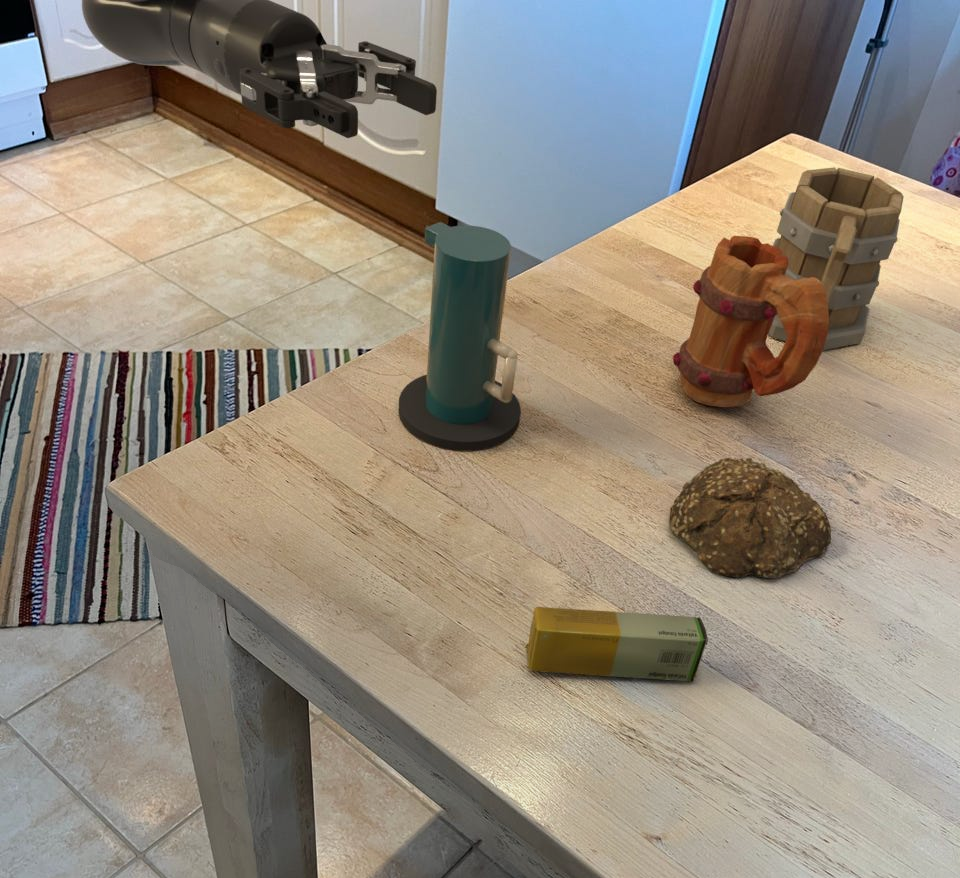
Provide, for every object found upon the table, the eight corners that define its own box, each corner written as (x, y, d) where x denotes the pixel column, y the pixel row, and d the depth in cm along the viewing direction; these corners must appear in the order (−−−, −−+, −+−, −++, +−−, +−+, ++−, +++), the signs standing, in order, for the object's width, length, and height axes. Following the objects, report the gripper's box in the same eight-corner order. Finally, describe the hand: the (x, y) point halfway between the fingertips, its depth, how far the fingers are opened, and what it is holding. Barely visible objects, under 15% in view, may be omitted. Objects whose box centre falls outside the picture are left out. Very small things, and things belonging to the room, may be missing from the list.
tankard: (756, 279, 112) (800, 142, 101) (866, 307, 110) (923, 170, 99) (724, 363, 99) (770, 216, 88) (849, 397, 97) (912, 251, 86)
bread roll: (729, 465, 87) (745, 418, 84) (845, 540, 82) (868, 493, 78) (635, 521, 81) (648, 472, 77) (754, 606, 75) (775, 559, 72)
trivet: (383, 435, 86) (383, 426, 85) (416, 370, 93) (416, 361, 92) (506, 462, 85) (507, 452, 84) (529, 393, 92) (530, 384, 91)
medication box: (688, 657, 71) (703, 615, 68) (696, 683, 69) (711, 641, 66) (524, 646, 70) (533, 603, 67) (527, 673, 68) (536, 629, 65)
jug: (400, 395, 88) (406, 232, 77) (445, 371, 91) (458, 212, 80) (482, 447, 84) (502, 283, 73) (527, 420, 87) (552, 259, 76)
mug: (649, 374, 96) (687, 224, 85) (715, 360, 99) (760, 213, 88) (740, 461, 88) (795, 307, 77) (809, 442, 91) (871, 291, 80)
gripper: (181, 11, 75) (325, 75, 69) (320, -14, 83) (461, 42, 77) (193, 115, 81) (327, 184, 74) (322, 83, 89) (454, 142, 82)
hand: (395, 112), depth 76 cm, fingers open, 8 cm apart
